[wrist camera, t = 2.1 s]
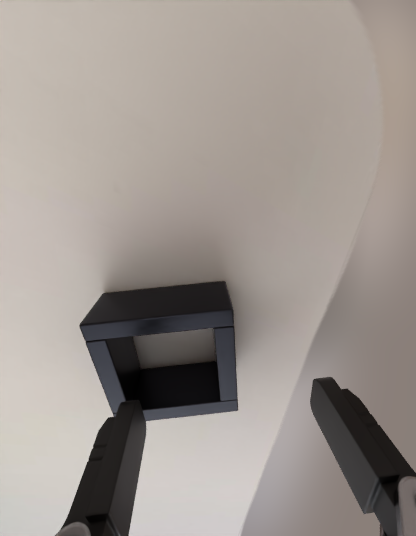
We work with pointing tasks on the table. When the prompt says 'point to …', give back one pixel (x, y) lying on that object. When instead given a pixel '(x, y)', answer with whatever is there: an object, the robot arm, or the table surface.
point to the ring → (155, 322)
